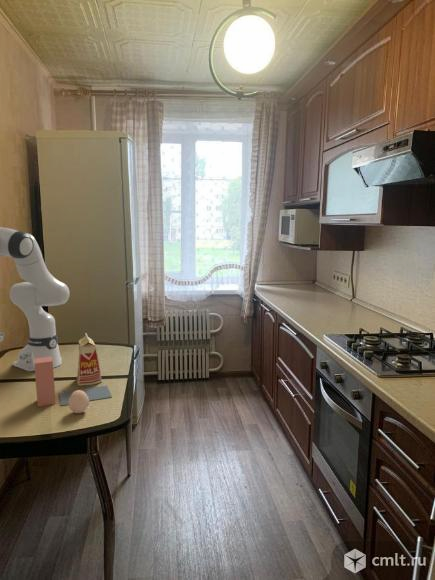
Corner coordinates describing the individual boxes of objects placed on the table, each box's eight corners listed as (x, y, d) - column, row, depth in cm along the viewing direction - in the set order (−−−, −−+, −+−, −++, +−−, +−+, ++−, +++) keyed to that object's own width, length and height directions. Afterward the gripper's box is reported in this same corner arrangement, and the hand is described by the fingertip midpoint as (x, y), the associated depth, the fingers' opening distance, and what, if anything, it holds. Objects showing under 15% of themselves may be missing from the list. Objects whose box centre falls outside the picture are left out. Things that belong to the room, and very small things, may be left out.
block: (37, 406, 146) (34, 363, 144) (37, 400, 152) (34, 358, 149) (55, 403, 149) (52, 361, 146) (55, 397, 154) (52, 356, 152)
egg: (88, 415, 139) (87, 393, 138) (68, 417, 137) (66, 395, 136) (90, 407, 145) (89, 386, 144) (70, 409, 144) (69, 387, 143)
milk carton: (76, 379, 172) (73, 333, 169) (99, 376, 176) (96, 330, 173) (78, 387, 164) (75, 338, 161) (102, 383, 167) (99, 335, 164)
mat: (60, 405, 146) (60, 405, 146) (59, 393, 157) (59, 392, 157) (111, 397, 154) (111, 396, 153) (107, 386, 164) (106, 385, 164)
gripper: (-51, 340, 126) (0, 335, 131) (-40, 325, 145) (4, 321, 150) (-49, 359, 127) (1, 354, 132) (-38, 342, 146) (6, 338, 151)
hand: (3, 336), depth 141 cm, fingers open, 3 cm apart
